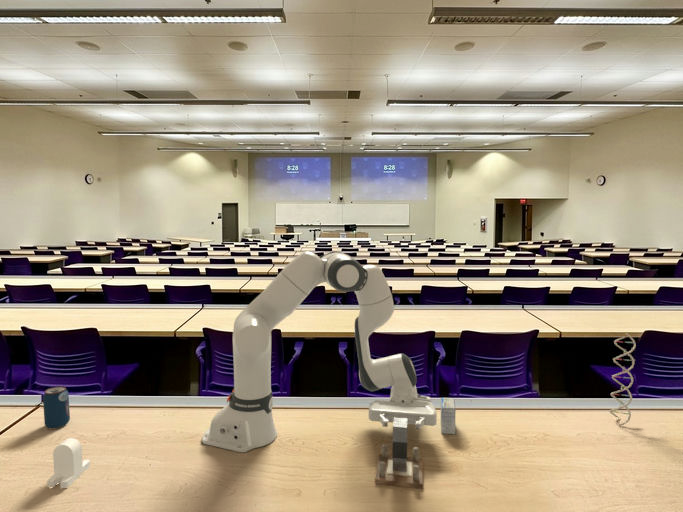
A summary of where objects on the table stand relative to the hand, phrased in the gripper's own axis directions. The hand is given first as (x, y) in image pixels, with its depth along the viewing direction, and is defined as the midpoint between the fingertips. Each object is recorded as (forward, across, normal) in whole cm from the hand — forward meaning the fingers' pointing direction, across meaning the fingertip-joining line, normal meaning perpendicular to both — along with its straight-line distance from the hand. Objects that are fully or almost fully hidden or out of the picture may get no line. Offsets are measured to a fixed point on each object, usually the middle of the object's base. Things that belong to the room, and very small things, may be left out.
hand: (401, 425), depth 123 cm
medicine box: (-19, +14, +9) cm, 25 cm away
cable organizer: (+26, -86, +9) cm, 90 cm away
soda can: (+2, -112, +9) cm, 112 cm away
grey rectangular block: (+8, 0, +8) cm, 11 cm away
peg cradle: (+8, 0, +9) cm, 12 cm away
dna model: (-33, +71, +10) cm, 79 cm away
